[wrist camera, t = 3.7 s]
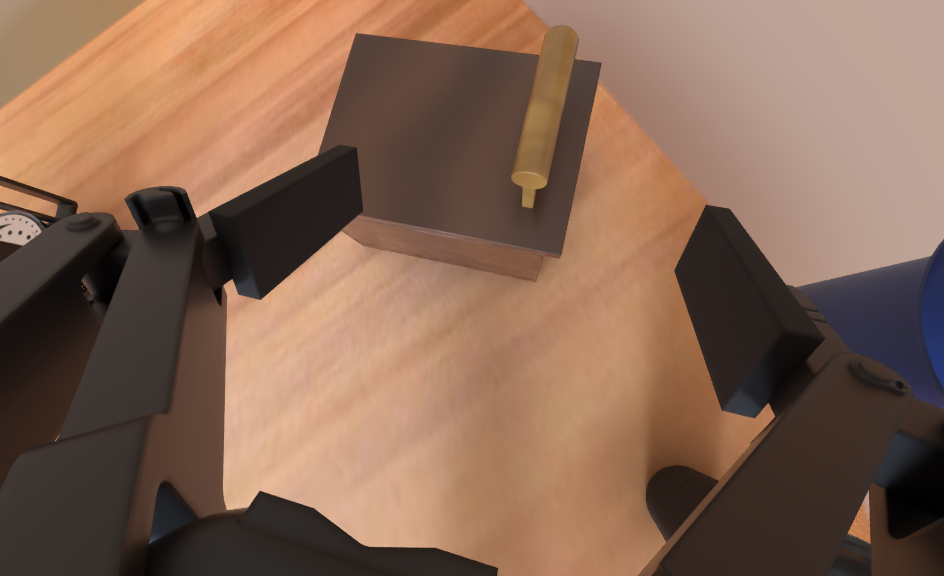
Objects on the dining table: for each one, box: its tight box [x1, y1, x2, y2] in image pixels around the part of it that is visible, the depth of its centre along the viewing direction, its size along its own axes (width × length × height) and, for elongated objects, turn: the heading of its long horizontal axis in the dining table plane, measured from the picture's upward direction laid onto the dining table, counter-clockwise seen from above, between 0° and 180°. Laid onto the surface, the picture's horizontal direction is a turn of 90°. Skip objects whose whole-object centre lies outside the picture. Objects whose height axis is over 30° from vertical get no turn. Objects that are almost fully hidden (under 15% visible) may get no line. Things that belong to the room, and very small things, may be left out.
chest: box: [341, 218, 543, 282], centre depth 29 cm, size 16×13×9 cm
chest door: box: [318, 25, 601, 259], centre depth 22 cm, size 17×13×6 cm
